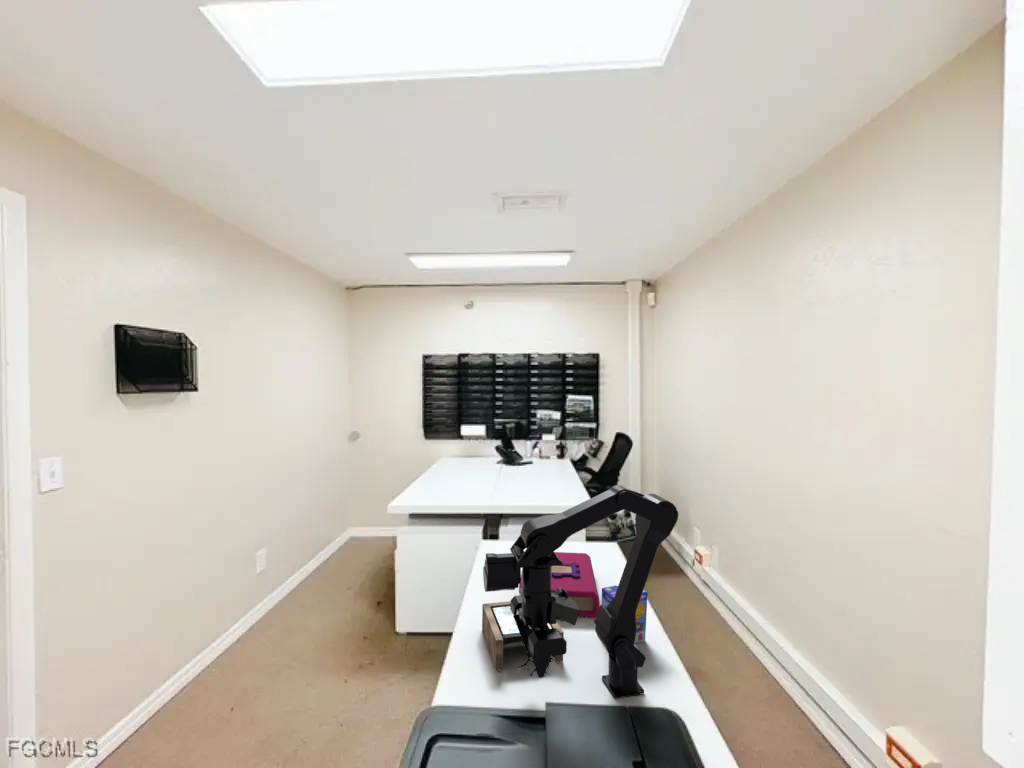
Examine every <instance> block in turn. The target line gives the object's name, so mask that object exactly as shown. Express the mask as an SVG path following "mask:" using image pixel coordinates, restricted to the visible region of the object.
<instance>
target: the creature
mask: <svg viewBox="0 0 1024 768" xmlns="http://www.w3.org/2000/svg"><path fill="white" fill-rule="evenodd" d="M526 657H527V658H526V661H524V663H523V664H522V665H520V666H518V667H516V668H514V669H515V670H516V669H522V670H525V667H526V666H527V665H528V663H529V662H530V663H531V664H533V661H532V658H531V655H529V654H528V653H527V652H526ZM554 657H555V656H551V659H550V661H549V664H548V667H549V666H550V664H551V663H553V662H554V661H553V659H554ZM533 666H534V664H533ZM548 667H547V669H548ZM526 670H527V672H528V674H529V676H530V677H533V673H535V672H536V670H535V668H534V669H533V670H532V671H531V673H530V672H529V671H530V670H531V669H529V668H526ZM546 674H548V673H547V670H546V673H545V675H546Z"/></svg>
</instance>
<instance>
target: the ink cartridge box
mask: <svg viewBox="0 0 1024 768" xmlns="http://www.w3.org/2000/svg"><path fill="white" fill-rule="evenodd" d="M617 588H618V585H615V584H614V585H611V586H605V587H602V588H601V603H600V605H604V606H606V607H607V606H608V605H609V604H610V603H611V602H612V601H613V599H614V597H615V594H616V591H617ZM648 594H649V593H648V591H647V590H646V589H644V590H643V593H642V596H641V599H640V602H639V605H638V608H637V610H636V629H637V632H636V638H635V644H639V643H643V642H645V641H646V630H647V611H648V610H647V609H648Z"/></svg>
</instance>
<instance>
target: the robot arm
mask: <svg viewBox="0 0 1024 768" xmlns="http://www.w3.org/2000/svg"><path fill="white" fill-rule="evenodd" d="M623 510H624V511H627V512H630V513H632V514H635V517H634V520H635V521H634V522H635V536H634V540H633V542H632V546H631V549H630V551H629V553H628V556H627V560H626V563H625V566H624V568H623V571H622V575H621V577H620V580H619V583H618V585H617V586H618V588H617V591H616V594H615V597H614V599H613V601H612V602H611V603H610V604H609V605H608V606H607V607H606V606H604V605H601V604H600V607H599V612H598V616H597V617H596V618H594V620H593V623H594V625H595V628H594V629H595V630H594V631H595V634H596V636H597V638H598V639H599V642H601V644H602V646H603V647H604V648H605V650H606V652H607V653H608V671H607V672H608V673H607V674H604V675H601V680H602V681H603V683H604V684H605V686H606V687H607V689H608V691H609V692H610V693H611V695H612V696H613V698H616V699H618V698H624V697H625V698H626V697H630V696H637V695H643V694H645V690H644V688H643V686H642V685H641V684H640V683H639V682H638V676H639V675H638V672H639V671H638V669H640V668H643V667H644V665H645V662H646V659H647V657H646V654H644V653H643V651H642V650H641V648H640V647H639V646H638V645H637V643H635V638H636V632H637V629H636V610H637V608H638V605H639V602H640V599H641V596H642V593H643V590H645V587H646V584H647V581H648V578H649V575H650V572H651V569H652V567H653V564H654V561H655V558H656V555H657V552H658V549H659V547H660V545H661V544H662V543H663V542H664V541H665V540H666V539H667V538H668V537H669V536H671V533H672V532H673V529H674V528H675V527H676V524H677V522H678V520H679V511H678V509H677V506H676V505H674V503H673V502H671V501H669V500H667V499H665V498H663V497H661V496H660V495H658V494H656V493H647V494H642V493H641V492H640V493H639V492H638V491H635V490H631V489H628V488H626V487H624V486H623V485H621V484H620V485H618V484H615V485H613V486H611V487H610V488H609V489H608V490H606V491H603V492H601V493H600V494H597V495H595V496H593V497H591V498H589V499H587V500H584V501H583V502H581V503H579V504H577V505H574V506H573V507H571V508H568V509H567V510H564V511H562V512H559V513H555V514H554V513H553V514H546V515H541V516H538V517H535V518H531V519H528V520H526V521H525V522H524V523H523V524H522V527H521V530H520V534H519V536H518V537H517V539H516V541H515V542H514V543H513V544H512V545H511V547H510V553H494V552H491V553H489V552H488V553H485V560H484V566H483V568H482V572H483V573H482V575H483V578H482V579H483V586H484V587H483V588H484V592H486V593H487V592H502V591H515V590H516V589H518V593H519V595H514V596H513V597H512V598H511V599H510V601H511V602H510V609H511V611H512V613H513V617H514V620H515V622H516V625H517V628H518V630H519V633H520V636H519V637H520V638H521V640H522V644H523V646H524V649H525V652H526V654H527V653H528V654H529V655H531V658H530V659H531V660H532V661H533V664H534V665H533V667H534V669H535V670H536V671H535V673H536V675H537V678H538V679H543V678H544V677H545V675H546V671H547V670H548V668H547V667H549V666H548V664H549V661H550V659H551V657H552V656H556V655H563V656H564V655H565V654H566V653H567V650H568V649H567V640H566V639H565V637H564V635H563V636H562V634H561V632H560V631H558V630H557V629H556V628H553V629H550V628H549V627H548V623H550V624H556V622H557V621H561V622H563V623H567V624H570V625H572V626H575V625H577V624H576V623H577V621H578V618H579V617H578V616H579V613H580V610H581V609H580V608H579V606H578V605H577V604H576V602H575V601H574V600H572V599H571V598H570V597H569V598H568V594H567V592H566V590H565V589H562V588H558V589H557V590H556V591H555V592H554V593H552V592H551V584H552V566H561V565H562V564H563V563H562V561H561V560H560V558H559V557H558V556H557V555H556V554H555V553H554V552H556V550H558V549H559V548H561V547H562V546H563V545H564V543H565V542H566V541H567V540H568V539H569V537H571V536H573V535H574V534H576V533H578V532H580V531H583V530H584V529H586V528H588V527H590V526H592V525H595V524H597V523H598V522H600V521H603V520H605V519H607V518H609V517H610V516H612V515H615V514H617V513H619V512H620V511H621V512H622V511H623ZM521 574H522V588H519V584H520V582H521ZM549 665H550V664H549Z"/></svg>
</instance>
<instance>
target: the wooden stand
mask: <svg viewBox="0 0 1024 768" xmlns="http://www.w3.org/2000/svg"><path fill="white" fill-rule="evenodd" d="M510 602H511V600H509V601H500V602H488V603H482V607H481V608H482V619H481V623H482V624H481V627H482V628H481V630H482V633H483V637H484V639H485V643H486V645H487V648H488V652H489V655H490V657H491V660H492V664H493V665H494V666H493V668H494V669H495V671H496V672H497V671H501V670H502V671H503V669H504V667H503V666H504V665H503V664H504V638H503V636H502V633H501V632H500V628H499V626H498V624H497V621H496V619H495V616H494V614H493V608H498V607H508V606H510ZM549 625H550V626H551V628H552V629H553V628H556V629H557V630H558V631H560V632H561V634H562V636H563V637H564V630H562V628H561V626H560V624H559V623H558V622H557V621H556V624H550V623H549ZM553 659H554V661H555V662H556V663H563V662H564V654H563V655H556V656H555V657H554V658H553Z"/></svg>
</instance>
